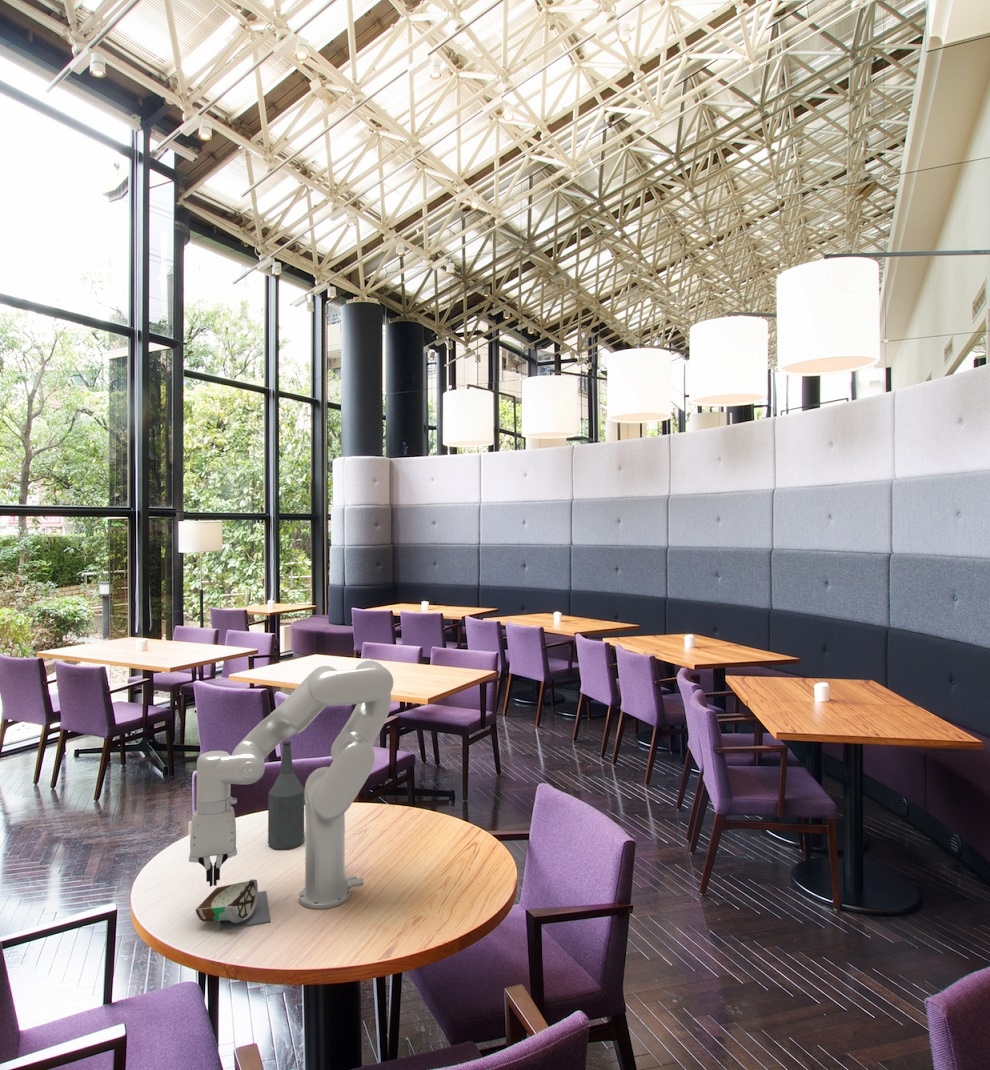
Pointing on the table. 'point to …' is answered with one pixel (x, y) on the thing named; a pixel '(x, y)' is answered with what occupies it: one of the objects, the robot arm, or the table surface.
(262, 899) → the mat
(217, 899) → the food container
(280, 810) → the bottle
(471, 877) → the table surface
